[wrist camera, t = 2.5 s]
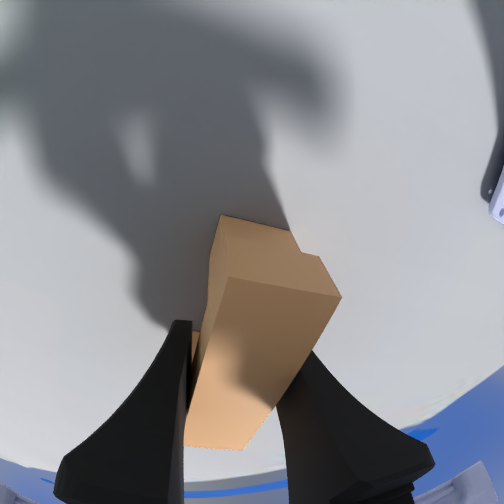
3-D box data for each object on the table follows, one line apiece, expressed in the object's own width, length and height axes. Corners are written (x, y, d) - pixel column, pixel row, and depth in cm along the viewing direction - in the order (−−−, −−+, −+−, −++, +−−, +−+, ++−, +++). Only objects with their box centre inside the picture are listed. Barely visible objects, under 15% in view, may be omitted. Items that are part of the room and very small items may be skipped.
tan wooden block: (296, 217, 11) (342, 297, 7) (235, 368, 15) (242, 450, 11) (224, 199, 11) (228, 276, 6) (184, 361, 15) (179, 445, 10)
